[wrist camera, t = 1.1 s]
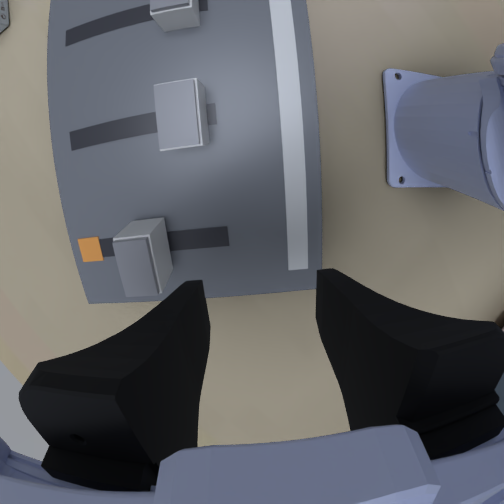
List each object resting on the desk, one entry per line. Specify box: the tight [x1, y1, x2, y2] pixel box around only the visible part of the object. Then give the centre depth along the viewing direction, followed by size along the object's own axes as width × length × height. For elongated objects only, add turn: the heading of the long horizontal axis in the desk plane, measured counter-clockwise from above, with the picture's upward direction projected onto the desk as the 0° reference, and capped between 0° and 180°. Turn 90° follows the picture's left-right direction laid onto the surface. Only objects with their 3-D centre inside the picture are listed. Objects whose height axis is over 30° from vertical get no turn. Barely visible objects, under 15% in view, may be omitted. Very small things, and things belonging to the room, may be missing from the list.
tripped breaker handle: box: [112, 217, 173, 297], centre depth 16 cm, size 2×3×3 cm, turn 5°
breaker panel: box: [47, 0, 322, 304], centre depth 15 cm, size 16×22×5 cm
